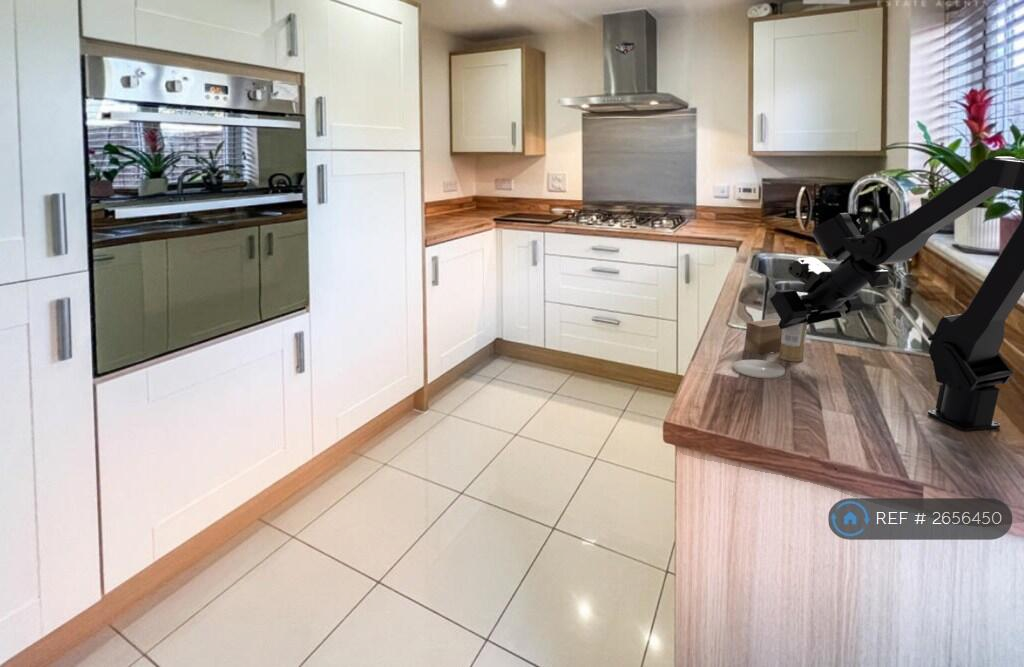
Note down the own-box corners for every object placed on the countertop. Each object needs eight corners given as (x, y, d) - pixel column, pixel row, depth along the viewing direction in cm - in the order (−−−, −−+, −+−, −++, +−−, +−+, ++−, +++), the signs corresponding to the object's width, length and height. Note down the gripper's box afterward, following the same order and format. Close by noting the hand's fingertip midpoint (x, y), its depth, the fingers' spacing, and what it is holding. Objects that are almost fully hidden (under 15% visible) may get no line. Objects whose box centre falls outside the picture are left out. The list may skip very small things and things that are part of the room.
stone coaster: (794, 376, 108) (795, 373, 108) (749, 379, 107) (750, 376, 106) (767, 361, 116) (767, 358, 116) (724, 364, 115) (725, 361, 115)
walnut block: (788, 350, 123) (791, 322, 122) (758, 354, 120) (761, 326, 119) (773, 345, 127) (776, 318, 125) (744, 349, 124) (747, 322, 122)
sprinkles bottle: (807, 359, 117) (816, 293, 113) (794, 363, 115) (803, 296, 111) (786, 353, 121) (794, 290, 117) (773, 357, 118) (781, 292, 115)
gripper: (859, 242, 111) (804, 288, 124) (783, 247, 105) (734, 296, 118) (891, 290, 106) (831, 333, 119) (814, 299, 100) (759, 344, 113)
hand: (789, 325), depth 117 cm, fingers closed on sprinkles bottle, 4 cm apart
